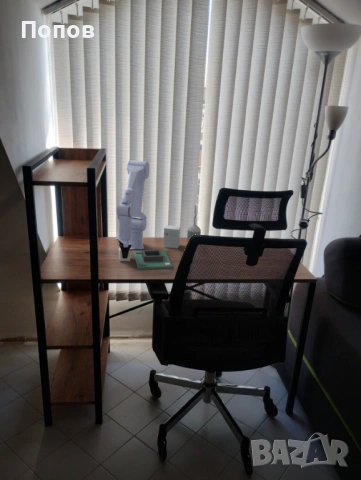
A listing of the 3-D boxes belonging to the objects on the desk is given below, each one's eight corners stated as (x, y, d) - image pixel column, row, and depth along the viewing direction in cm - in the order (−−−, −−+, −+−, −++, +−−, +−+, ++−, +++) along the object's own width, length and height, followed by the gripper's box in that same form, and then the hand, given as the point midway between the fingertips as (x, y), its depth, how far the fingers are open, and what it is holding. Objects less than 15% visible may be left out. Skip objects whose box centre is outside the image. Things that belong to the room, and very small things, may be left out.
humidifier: (185, 249, 205) (189, 202, 197) (201, 250, 204) (205, 204, 196) (183, 254, 198) (186, 206, 189) (199, 256, 197) (203, 208, 188)
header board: (133, 252, 196) (133, 246, 195) (164, 251, 200) (165, 245, 199) (137, 269, 178) (137, 262, 177) (172, 267, 181) (172, 260, 180)
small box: (179, 245, 210) (180, 226, 207) (178, 248, 205) (179, 229, 202) (164, 243, 211) (165, 224, 208) (163, 247, 206) (163, 228, 202)
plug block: (118, 257, 189) (118, 247, 187) (129, 257, 190) (129, 246, 188) (119, 261, 185) (119, 250, 184) (130, 260, 187) (130, 250, 185)
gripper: (115, 224, 188) (115, 250, 193) (117, 234, 175) (116, 262, 180) (129, 224, 190) (129, 250, 195) (133, 233, 177) (132, 261, 181)
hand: (124, 256), depth 187 cm, fingers open, 5 cm apart
